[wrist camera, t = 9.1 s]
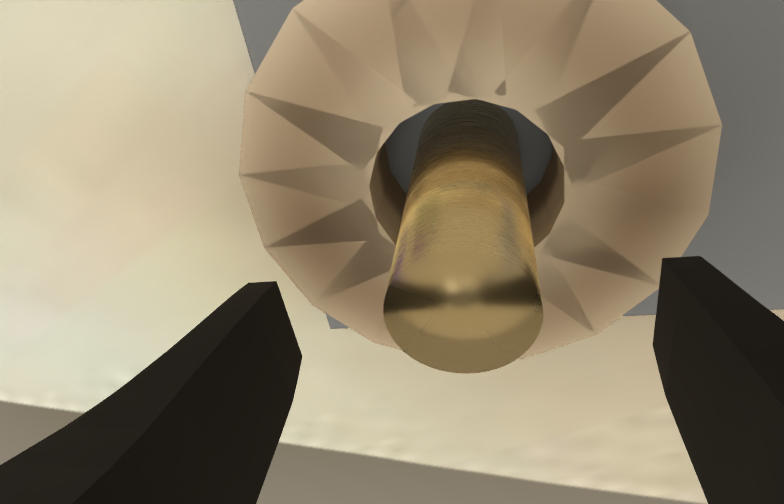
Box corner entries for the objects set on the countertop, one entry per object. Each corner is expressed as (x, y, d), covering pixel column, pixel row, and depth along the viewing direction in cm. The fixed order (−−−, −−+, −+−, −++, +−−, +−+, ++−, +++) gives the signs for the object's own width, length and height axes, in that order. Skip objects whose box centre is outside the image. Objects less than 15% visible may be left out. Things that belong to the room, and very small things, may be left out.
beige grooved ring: (707, -125, 13) (759, -122, 11) (661, 291, 19) (687, 354, 17) (222, -36, 15) (173, -17, 13) (324, 309, 22) (304, 365, 19)
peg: (516, 91, 16) (540, 244, 10) (520, 185, 18) (545, 371, 11) (412, 104, 17) (369, 256, 10) (425, 193, 18) (396, 375, 12)
